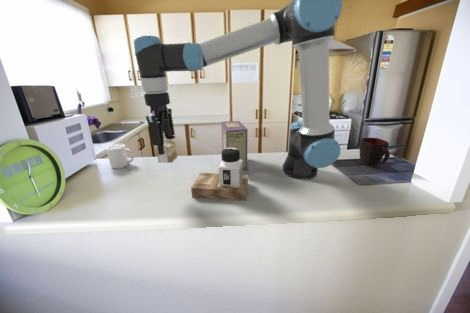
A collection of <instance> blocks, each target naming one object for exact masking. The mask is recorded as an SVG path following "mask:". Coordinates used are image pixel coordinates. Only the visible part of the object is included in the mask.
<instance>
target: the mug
mask: <svg viewBox="0 0 470 313" xmlns="http://www.w3.org/2000/svg"><path fill="white" fill-rule="evenodd" d="M389 145H390V143H389V142H388V141H387V140H384V139H381V138H378V137H362V138H361V139H360V141H359V160H360V164H362V165H363V166H365V167H371V168H372V167H373V168H374V167H377V166H378V165H381V164H384V163H386V162H387V161H388V160H389V159H390V158H391V157H390V156H391V153H390V150H389V149H388V148H389Z"/></svg>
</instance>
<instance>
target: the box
mask: <svg viewBox="0 0 470 313" xmlns="http://www.w3.org/2000/svg"><path fill="white" fill-rule="evenodd" d="M220 125H221V141H222V142H221V143H222V150H224V149H226V148H236V149H238V150H239V151H240V160H243V172H248V128H247V127H246V126H245V125H244V124H243V123H242V122H241V121H240V120H231V121H221V124H220Z"/></svg>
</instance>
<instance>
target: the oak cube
mask: <svg viewBox="0 0 470 313" xmlns="http://www.w3.org/2000/svg"><path fill="white" fill-rule="evenodd" d="M164 144H166V150H167V155H168V161H169V162H168V164H169V163H170V164H172V163H173V162H174V161H175V160H176V159H177V158H178V153H177V146H176V141H173V142H165V141H164ZM154 147H155V152H156V158H157V163H166V162H160V158H159V152H158V147H157V146H156V145H154Z"/></svg>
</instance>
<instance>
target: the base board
mask: <svg viewBox="0 0 470 313" xmlns="http://www.w3.org/2000/svg"><path fill="white" fill-rule="evenodd" d="M248 181H249V175H248V174H243V177H242V181H241V184H240V187H234V186H222V185H219V173H212V172H211V173H210V172H200V173H198V176H197V177H196V179H195V181H194V182H193V184H192V186H191V187H190V190H191V197H192V198H201V199H218V200H233V201H234V200H235V201H246V199H247V192H248V185H249V183H248Z"/></svg>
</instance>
